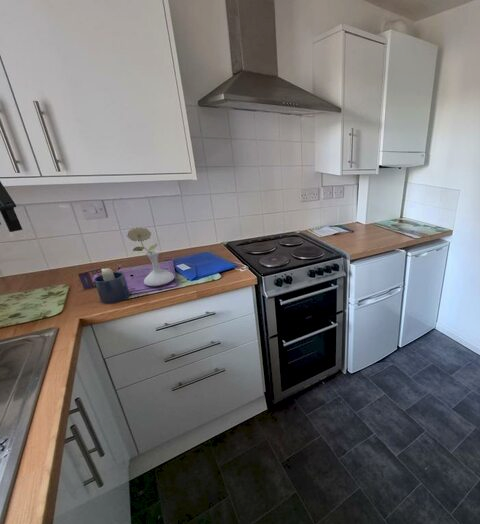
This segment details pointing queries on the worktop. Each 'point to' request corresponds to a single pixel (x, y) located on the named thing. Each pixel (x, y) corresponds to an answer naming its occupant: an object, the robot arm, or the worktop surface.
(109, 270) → the game piece
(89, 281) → the purple printed box
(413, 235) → the worktop surface
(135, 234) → the flower in vase
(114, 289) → the cup
